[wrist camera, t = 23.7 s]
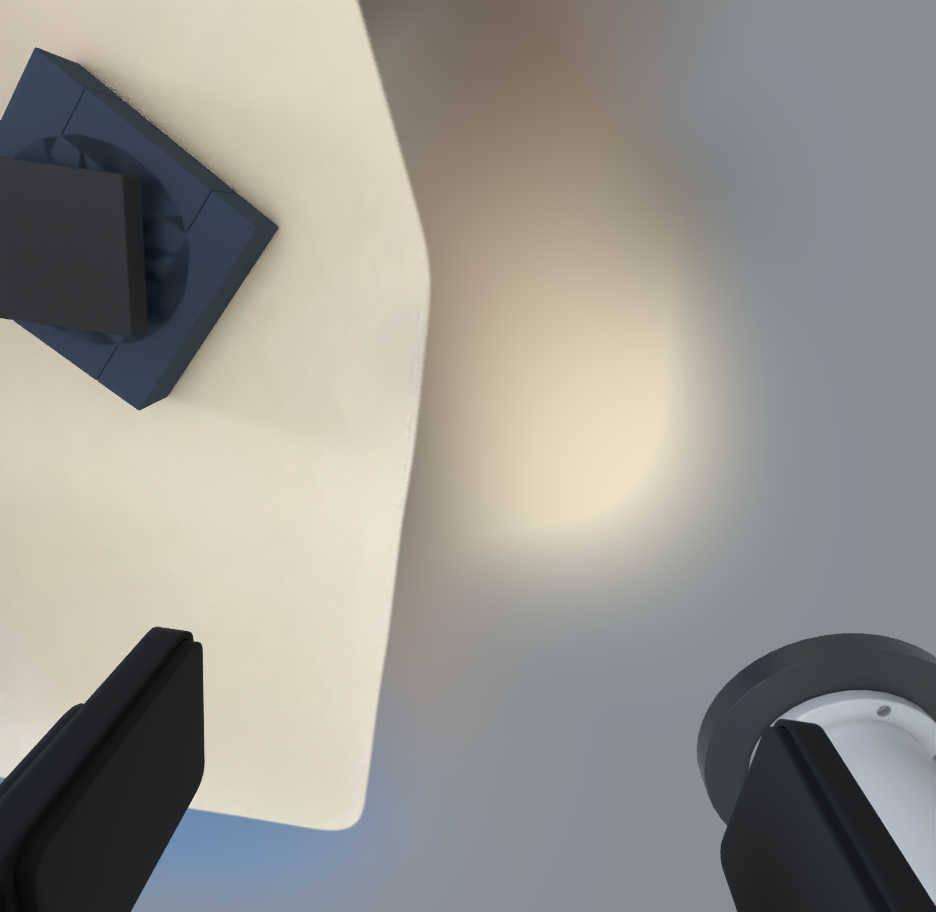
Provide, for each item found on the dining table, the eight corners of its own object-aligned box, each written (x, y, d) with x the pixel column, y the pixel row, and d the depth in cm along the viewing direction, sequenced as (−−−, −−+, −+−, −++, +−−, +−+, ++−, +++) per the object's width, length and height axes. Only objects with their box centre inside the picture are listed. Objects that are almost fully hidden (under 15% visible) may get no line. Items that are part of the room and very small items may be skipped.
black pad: (189, 183, 32) (122, 174, 27) (191, 319, 35) (131, 337, 29) (55, 164, 32) (-39, 151, 27) (67, 301, 35) (-17, 316, 29)
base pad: (279, 227, 33) (257, 227, 30) (167, 397, 36) (138, 411, 34) (77, 62, 31) (34, 45, 28) (-21, 260, 34) (-68, 263, 32)
